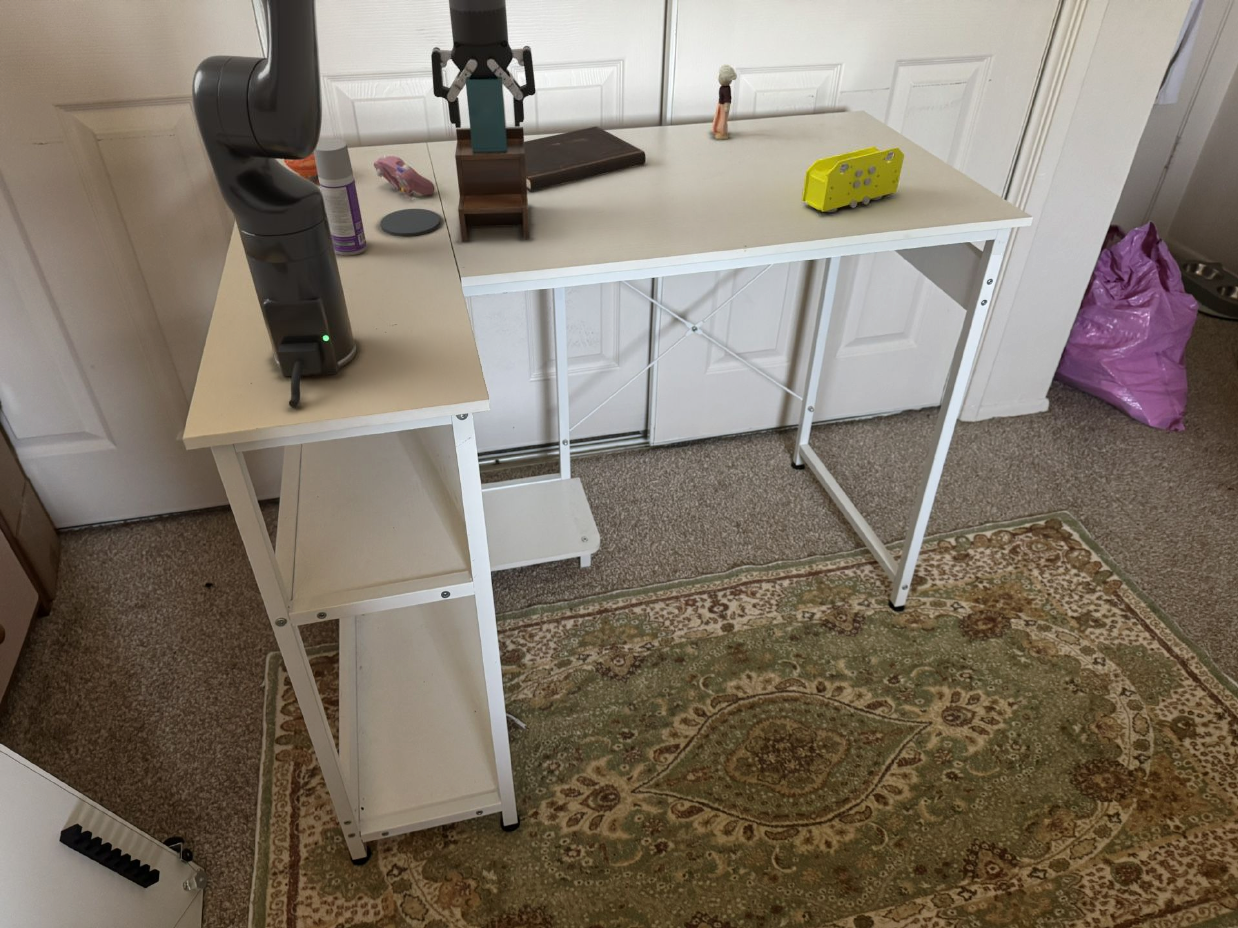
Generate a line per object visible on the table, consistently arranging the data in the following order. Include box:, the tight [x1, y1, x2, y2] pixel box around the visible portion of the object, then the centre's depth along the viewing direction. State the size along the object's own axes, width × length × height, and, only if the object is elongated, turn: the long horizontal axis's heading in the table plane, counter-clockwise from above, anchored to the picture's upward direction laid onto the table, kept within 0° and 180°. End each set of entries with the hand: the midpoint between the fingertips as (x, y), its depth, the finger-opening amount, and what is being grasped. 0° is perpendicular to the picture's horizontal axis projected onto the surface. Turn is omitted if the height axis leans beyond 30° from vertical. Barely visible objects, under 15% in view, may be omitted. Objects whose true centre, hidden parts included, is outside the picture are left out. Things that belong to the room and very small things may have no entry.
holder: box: [465, 78, 507, 153], centre depth 125 cm, size 5×5×10 cm
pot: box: [283, 152, 318, 180], centre depth 145 cm, size 8×8×7 cm
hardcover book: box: [524, 125, 647, 192], centre depth 152 cm, size 16×23×2 cm
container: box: [314, 138, 368, 256], centre depth 121 cm, size 5×5×15 cm
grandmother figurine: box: [710, 64, 738, 140], centre depth 160 cm, size 8×4×13 cm, turn 10°
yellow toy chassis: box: [801, 146, 905, 213], centre depth 138 cm, size 16×6×8 cm, turn 121°
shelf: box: [454, 126, 530, 242], centre depth 129 cm, size 12×10×12 cm
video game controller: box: [373, 154, 436, 196], centre depth 141 cm, size 10×5×7 cm, turn 45°
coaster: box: [380, 208, 442, 237], centre depth 133 cm, size 9×9×1 cm
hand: (488, 125), depth 126 cm, fingers open, 8 cm apart
